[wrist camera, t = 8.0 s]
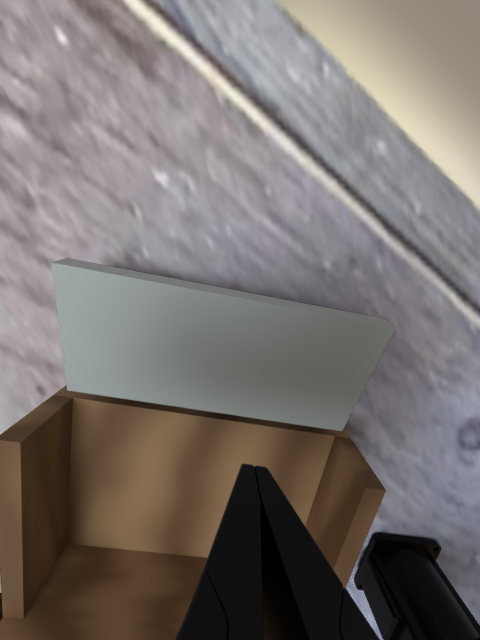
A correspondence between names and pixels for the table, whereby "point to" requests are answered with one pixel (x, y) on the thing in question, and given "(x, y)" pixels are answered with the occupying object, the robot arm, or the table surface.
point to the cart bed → (150, 509)
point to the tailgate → (212, 346)
